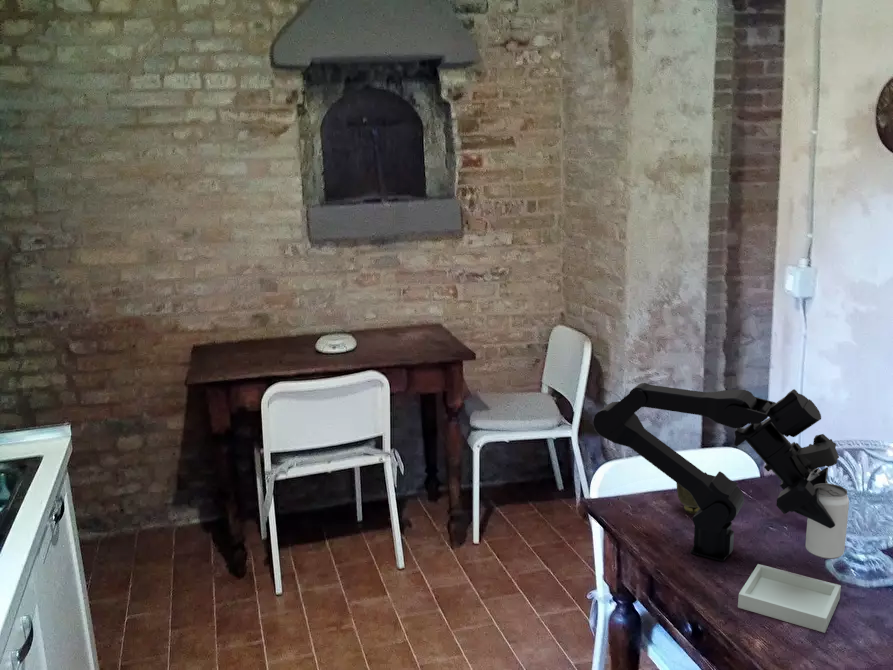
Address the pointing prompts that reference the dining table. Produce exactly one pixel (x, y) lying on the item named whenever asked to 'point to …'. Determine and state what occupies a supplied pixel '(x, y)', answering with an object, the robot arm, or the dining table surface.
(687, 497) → the olive piece
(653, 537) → the dining table surface
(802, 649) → the dining table surface
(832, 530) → the can
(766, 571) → the tray
